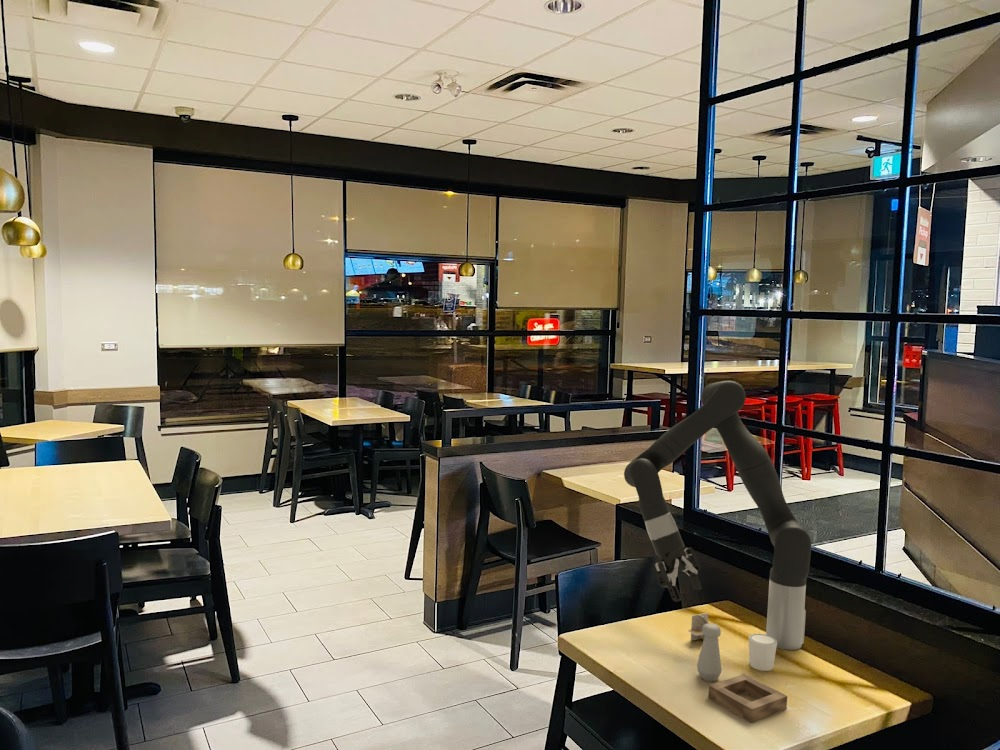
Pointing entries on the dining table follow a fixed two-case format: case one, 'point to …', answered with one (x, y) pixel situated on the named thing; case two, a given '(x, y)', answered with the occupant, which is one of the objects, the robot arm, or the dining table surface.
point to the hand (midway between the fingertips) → (688, 595)
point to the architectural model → (698, 626)
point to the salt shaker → (710, 653)
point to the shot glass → (762, 651)
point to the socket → (751, 711)
